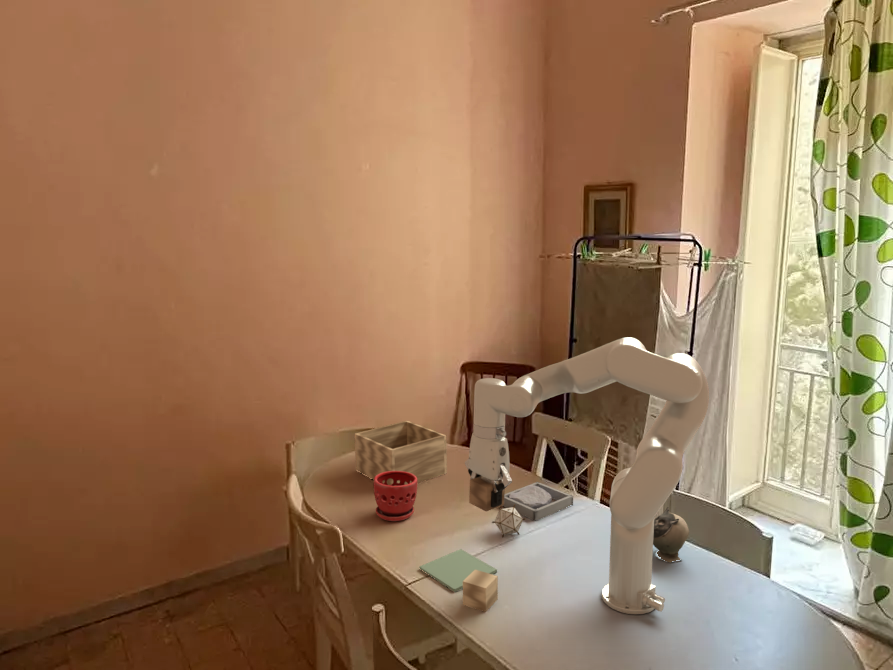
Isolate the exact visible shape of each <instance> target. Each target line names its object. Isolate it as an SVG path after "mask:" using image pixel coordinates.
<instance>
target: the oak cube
mask: <svg viewBox="0 0 893 670" xmlns="http://www.w3.org/2000/svg"><path fill="white" fill-rule="evenodd" d="M498 579H499V576H498V575H495V574H489V573H485V572H482V571H478V570H474V571H473V572H472V573H471V574H470V575H469V576H468V577H467V578H466V579H465V580H464V581H463V589H462V606H465V605H466V607H468V608H471V609H475V610H477V611H481V612H484V613H487V612H488V610H490V609H491V607H492V606H493V605H494V604H495V603H496V602H497V601H498V598H499V597H498V596H499V595H498V593H499V588H498V585H499V583H498V582H499V581H498Z"/></svg>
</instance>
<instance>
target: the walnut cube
mask: <svg viewBox="0 0 893 670" xmlns="http://www.w3.org/2000/svg"><path fill="white" fill-rule="evenodd" d="M496 483H497V486H498V485H499V482H498V481H496ZM505 490H506V488H505V489H504V490H502V504H501V505H500V506H497V507H494V508H492V507H491V492H492V491H493V488H492V483H491V480H490V479H488V478H486V477H483V476H480V477H477V478H474V479H469V494H468V495H469V500H468V503H469V504H470V505H473V506H474V507H476V508H478V509H481V510H483V511H484V512H488V511H491V510H494V509H498V507H500V508H501V507H503V506H502V505H504V494H506V493H505V492H506V491H505Z"/></svg>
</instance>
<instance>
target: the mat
mask: <svg viewBox="0 0 893 670" xmlns="http://www.w3.org/2000/svg"><path fill="white" fill-rule="evenodd" d="M419 568H420V569H421V570H423V571H424V572H426V573H427V574H429V575H430V576H432V577H433V578H435V579H436V580H437V581H436V580H435V579H434V580H435V581H436V582H438V581H439V582H440V583H439V582H438V583H439V584H441V583H442V584H441V585H443V586H444V585H445V587H446V586H447V587H448V589H449V590H450V589H451V590H450V591H452V592H453V591H454V593H456V592H458V590H459V591H460V590H463V589H462V588H463V581H464V580H465V579H466V578H467V577H468V576H469V575H470V574H471V573H472V572H473V571H474V570H478V571H482V572H485V573H489V574H492V575H495V574H497V573H498V569H497V568H495V567H493V566H491V565H490V564H488V563H486V562H484V561H483V560H481V559H479V558H478V557H476V556H474V555H472V554H471V553H469V552H467V551H466V550H463V549H462V548H460V549H457V550H455V551H453V552H451V553H448V554H445V555H443V556H441V557H438V558H436V559H434V560H431V561H429V562H426V563H425V564H422V565H420V566H419ZM420 569H419V570H420ZM421 570H420V571H421ZM423 571H422V572H423ZM424 572H423V573H424ZM426 573H425V574H426ZM427 574H426V575H427ZM429 575H428V576H429ZM430 576H429V577H430ZM432 577H431V578H432ZM433 578H432V579H433ZM447 587H446V588H447Z"/></svg>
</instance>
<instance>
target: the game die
mask: <svg viewBox="0 0 893 670" xmlns="http://www.w3.org/2000/svg"><path fill="white" fill-rule="evenodd" d="M497 509H498V512H497V515H496V517H495V519H494V521H493V520H492V521H491V524H495V526H496V527H497V529H498V530H499V531H500V532H501V534H502V535H501V538H504V537H505V535H511V534H515V533H517V535H520V532H519V530H520V528H521V526H522V523H523V521H525V520H526V519H527V518H526V517H524V518H523V516H522V515H521V514H519V513H518V511H517V510H516V509H515V504H514V506H513V507H509V508H506V507H503V508H501V506H500V507H497Z"/></svg>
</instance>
